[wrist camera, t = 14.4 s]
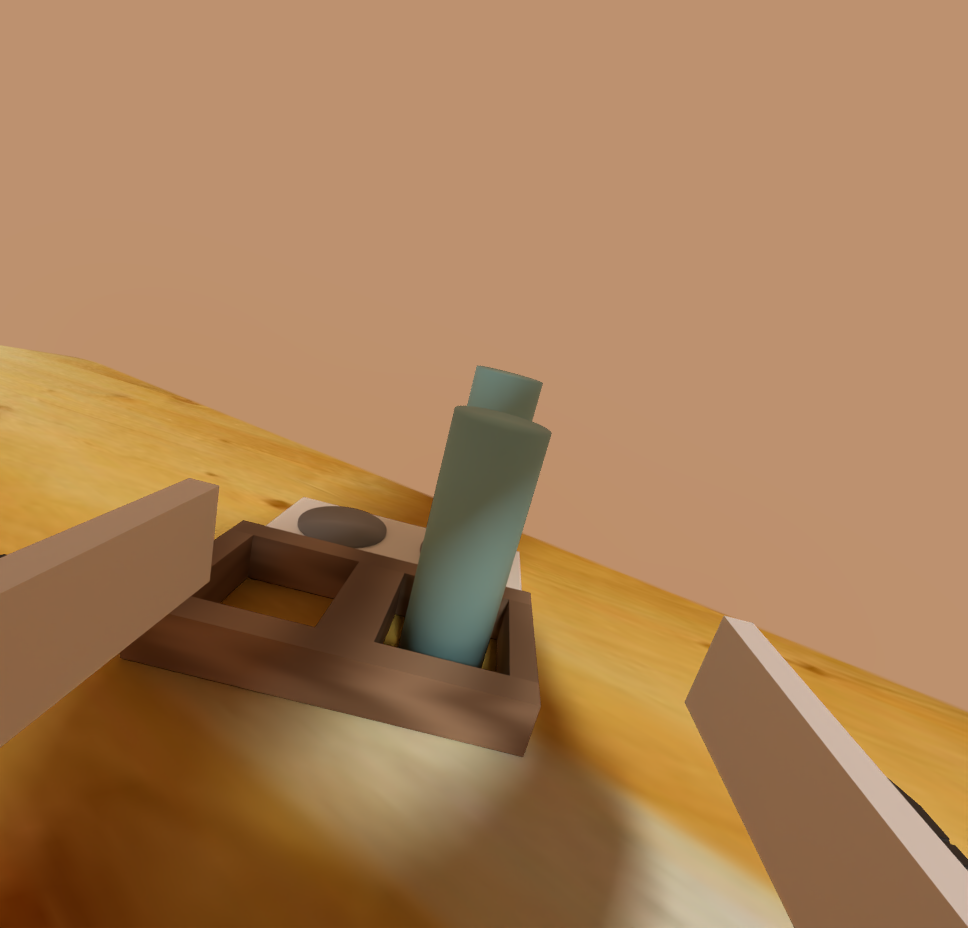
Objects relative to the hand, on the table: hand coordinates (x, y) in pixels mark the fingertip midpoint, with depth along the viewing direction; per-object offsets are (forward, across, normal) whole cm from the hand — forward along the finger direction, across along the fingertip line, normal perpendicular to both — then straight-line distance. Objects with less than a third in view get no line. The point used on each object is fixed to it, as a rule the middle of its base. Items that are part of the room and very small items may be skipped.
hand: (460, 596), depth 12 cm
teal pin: (+8, 0, -9) cm, 12 cm away
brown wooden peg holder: (+8, -4, -9) cm, 12 cm away
